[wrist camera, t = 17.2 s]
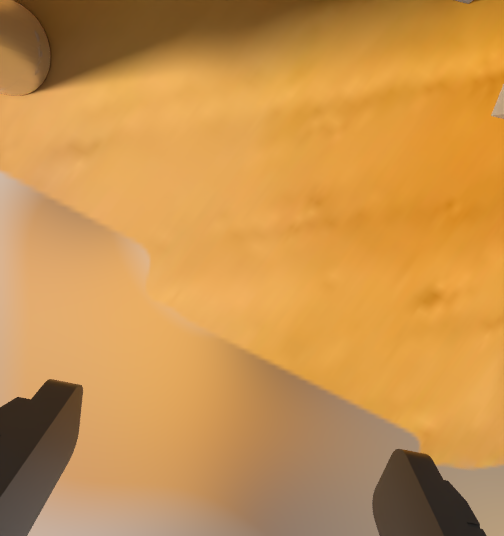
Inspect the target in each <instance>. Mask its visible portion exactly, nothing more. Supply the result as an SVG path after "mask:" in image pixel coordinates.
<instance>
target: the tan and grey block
mask: <svg viewBox="0 0 504 536" xmlns="http://www.w3.org/2000/svg"><path fill="white" fill-rule="evenodd" d="M491 116H494V117H498V118H502V119H504V85H503V87H502V90H501V92H500V95H499V97H498V100H497V102H496V105H495V107H494V110H493V112H492V115H491Z"/></svg>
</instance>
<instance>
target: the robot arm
mask: <svg viewBox="0 0 504 536" xmlns="http://www.w3.org/2000/svg"><path fill="white" fill-rule="evenodd" d="M50 60H51V57H50V47H49V42H48V38H47V36H46V34H45V31H44V29H43V27H42V26H41V24H40V23H39V21H38V20H37V18H36V17H35V16H34V15H33V14H32V13H31V12H30V11H29V10H27V9H26V8H25V7H23V6H22V5H21V4H19V3H17V2H15V1H13V0H0V94H6V95H11V96H21V95H25V94H29V93H31V92H33V91H34V90H36V89H37V88H38V87H39V86H40V85H41V84H42V83H43V81H44V80H45V78H46V76H47V74H48V71H49V67H50ZM82 395H83V387H82V385H78V384H72V383H68V382H63V381H57V380H52V379H49V380H48V381H46V382H45V383H44V385H43V386H42V387H41V388H40V389H39V391H38V392H37V393H36V394H35V395H34V397H33V398H32V399H31V400H30V399H26V398H20V397H17V398H15V399H14V400H12V401H10V402H8V403H7V404H5V405H3V406H2V407H0V536H27V535H28V533H29V531H30V529H31V528H32V526H33V524H34V522H35V521H36V519H37V517H38V515H39V514H40V512H41V510H42V508H43V506H44V505H45V503H46V501H47V499H48V498H49V496H50V494H51V492H52V490H53V489H54V487H55V485H56V483H57V481H58V480H59V478H60V476H61V474H62V473H63V471H64V469H65V467H66V466H67V464H68V462H69V460H70V458H71V456H72V454H73V451H74V448H75V445H76V442H77V438H78V433H79V424H80V414H81V404H82ZM373 515H374V518H375V522H376V525H377V529H378V532H379V535H380V536H486V534H485V532H484V531H483V529H480V524H479V522H478V520H477V519H476V517H475V515H474V513H473V512H472V510H471V508H470V507H469V505H468V503H467V501H466V500H465V499H464V498H463V497H462V496H461V495H460V494H459V493H458V491H457V490H456V489H455V488H454V487H453V486H452V485H451V484H450V483H449V481H446V480H443V478H442V476H441V475H440V473H439V471H438V469H437V467H436V465H435V464H434V462H433V460H432V459H431V457H430V456H428V455H427V454H423V453H417V452H412V451H407V450H402V449H396V450H395V451H394V452H393V453H392V455H391V457H390V459H389V461H388V463H387V466H386V468H385V470H384V472H383V474H382V476H381V478H380V480H379V482H378V484H377V486H376V488H375V491H374V495H373Z"/></svg>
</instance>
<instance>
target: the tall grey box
mask: <svg viewBox="0 0 504 536" xmlns="http://www.w3.org/2000/svg"><path fill="white" fill-rule="evenodd" d="M455 1H459V2H463V3H467V4H469V3H470V2H472V1H473V0H455Z"/></svg>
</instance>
